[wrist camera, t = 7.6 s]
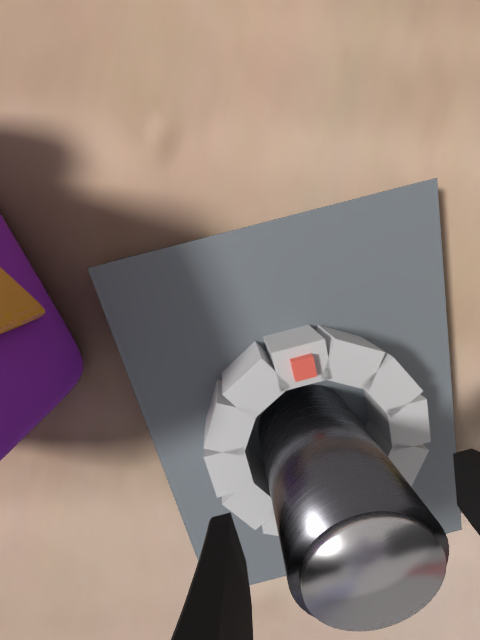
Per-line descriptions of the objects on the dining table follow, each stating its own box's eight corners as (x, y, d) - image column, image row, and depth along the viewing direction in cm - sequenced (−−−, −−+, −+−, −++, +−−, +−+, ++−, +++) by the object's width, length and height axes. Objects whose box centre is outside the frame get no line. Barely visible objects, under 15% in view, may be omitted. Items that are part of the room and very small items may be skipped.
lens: (362, 446, 14) (471, 604, 8) (278, 480, 14) (321, 658, 8) (335, 370, 13) (437, 485, 7) (243, 407, 13) (264, 553, 7)
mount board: (445, 510, 17) (500, 575, 14) (211, 571, 17) (210, 651, 14) (417, 184, 13) (489, 161, 9) (99, 265, 13) (55, 273, 9)
